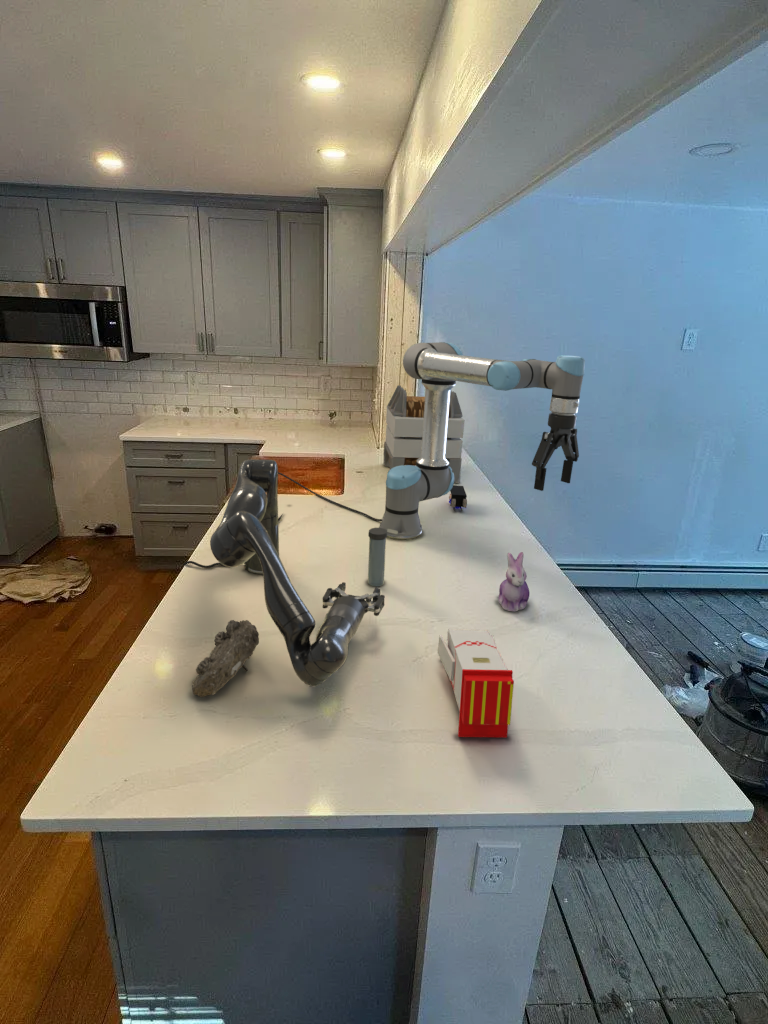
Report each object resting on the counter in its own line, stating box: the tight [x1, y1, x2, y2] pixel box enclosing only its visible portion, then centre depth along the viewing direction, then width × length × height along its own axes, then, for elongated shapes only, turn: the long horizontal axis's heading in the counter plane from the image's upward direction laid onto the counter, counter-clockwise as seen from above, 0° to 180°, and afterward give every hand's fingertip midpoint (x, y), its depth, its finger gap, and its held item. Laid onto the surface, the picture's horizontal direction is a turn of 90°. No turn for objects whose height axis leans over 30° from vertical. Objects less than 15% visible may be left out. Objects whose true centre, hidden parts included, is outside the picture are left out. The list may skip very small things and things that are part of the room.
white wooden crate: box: [383, 384, 465, 484], centre depth 268 cm, size 34×33×41 cm
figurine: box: [497, 551, 530, 612], centre depth 152 cm, size 9×10×15 cm
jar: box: [367, 536, 387, 587], centre depth 161 cm, size 5×5×16 cm
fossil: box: [191, 619, 260, 698], centre depth 121 cm, size 22×10×15 cm
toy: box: [437, 628, 515, 738], centre depth 117 cm, size 12×13×30 cm
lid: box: [368, 527, 388, 540], centre depth 159 cm, size 5×5×2 cm
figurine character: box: [448, 484, 468, 512], centre depth 228 cm, size 7×8×15 cm
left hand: (360, 587), depth 142 cm, fingers open, 8 cm apart
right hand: (552, 485), depth 166 cm, fingers open, 13 cm apart
